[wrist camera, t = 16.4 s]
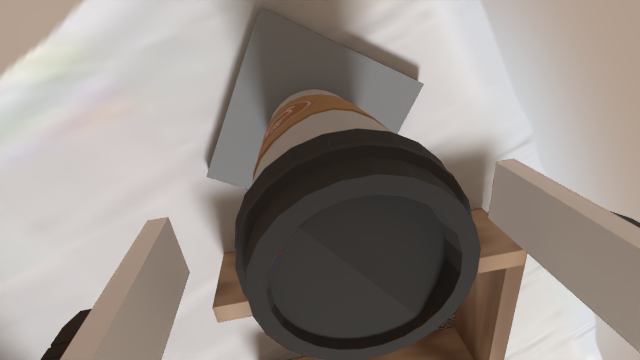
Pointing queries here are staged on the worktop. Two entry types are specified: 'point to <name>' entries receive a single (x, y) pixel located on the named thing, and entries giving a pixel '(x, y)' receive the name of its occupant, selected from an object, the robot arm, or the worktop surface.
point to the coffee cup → (350, 234)
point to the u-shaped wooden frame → (471, 316)
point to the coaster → (299, 89)
